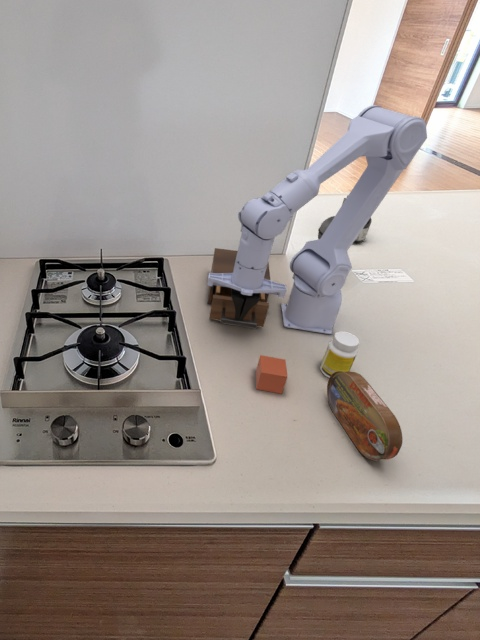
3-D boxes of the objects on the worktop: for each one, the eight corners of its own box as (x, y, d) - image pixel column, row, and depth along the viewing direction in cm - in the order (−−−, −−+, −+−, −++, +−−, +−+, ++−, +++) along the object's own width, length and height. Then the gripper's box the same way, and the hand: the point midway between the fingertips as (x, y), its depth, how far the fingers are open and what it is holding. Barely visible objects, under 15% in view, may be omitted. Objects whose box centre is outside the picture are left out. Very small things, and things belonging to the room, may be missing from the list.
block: (280, 376, 82) (285, 359, 79) (281, 394, 78) (287, 376, 76) (255, 371, 83) (260, 354, 80) (256, 389, 79) (261, 372, 77)
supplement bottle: (350, 383, 80) (365, 349, 75) (322, 379, 81) (336, 345, 76) (343, 364, 84) (357, 331, 79) (317, 361, 85) (329, 328, 80)
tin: (320, 394, 78) (334, 360, 73) (337, 393, 78) (352, 359, 73) (372, 472, 65) (392, 437, 61) (392, 470, 66) (414, 435, 61)
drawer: (264, 341, 88) (270, 319, 85) (208, 331, 91) (211, 310, 88) (261, 293, 102) (266, 273, 99) (212, 286, 104) (215, 266, 101)
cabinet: (264, 312, 97) (271, 285, 93) (207, 304, 100) (212, 277, 96) (261, 279, 108) (267, 254, 104) (210, 273, 111) (214, 247, 107)
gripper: (211, 266, 80) (200, 323, 87) (294, 279, 77) (276, 337, 84) (212, 248, 86) (202, 303, 93) (290, 259, 83) (273, 315, 90)
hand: (237, 318), depth 89 cm, fingers closed, pressing on drawer
